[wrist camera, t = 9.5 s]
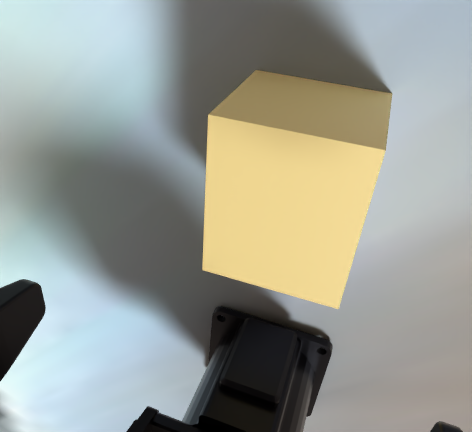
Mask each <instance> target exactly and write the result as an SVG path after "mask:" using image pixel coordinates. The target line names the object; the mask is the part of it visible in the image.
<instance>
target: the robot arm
mask: <svg viewBox="0 0 472 432" xmlns="http://www.w3.org/2000/svg"><path fill="white" fill-rule="evenodd" d="M45 308H46V307H45V302H44V298H43V293H42V289H41V286H40V285H39V284H38V283H36V282H33V281H30V280H26V279H22V280H19V281H16V282H14V283H11V284H9V285H6V286H4V287H2V288H0V381H1V380H2V378H3V377H4V376H5V374H6V373H7V372H8V370H9V369H10V367H11V366H12V364H13V363H14V361H15V360H16V358H17V357H18V355H19V354H20V352H21V351H22V349H23V347H24V346H25V344H26V343H27V341H28V340H29V338H30V337H31V335H32V334H33V332H34V330H35V329H36V327H37V326H38V324H39V323H40V321H41V320H42V318H43V316H44V314H45ZM221 315H222V316H221ZM223 316H224V317H223ZM322 348H324V349H322ZM331 353H332V344H331V343H330V342H329V341H328V340H326V339H323V338H320V337H317V336H314V335H311V334H307V333H304V332H301V331H298V330H295V329H292V328H289V327H285V326H282V325H279V324H276V323H273V322H270V321H267V320H263V319H260V318H257V317H254V316H251V315H248V314H245V313H241V312H238V311H235V310H232V309H229V308H226V307H217V308H216V310H215V311H214V313H213V316H212V328H211V340H210V352H209V364H208V367H207V369H206V371H205V373H204V375H203V377H202V379H201V382H200V384H199V386H198V388H197V390H196V392H195V394H194V397H193V399H192V401H191V403H190V405H189V407H188V409H187V412H186V414H185V416H184V418H183V420H182V421H179V420H177V419H174V418H171V417H169V416H166V415H164V414H161V413H159V411H158V410H157V409H154V408H151V407H149V406H148V407H147V408H146V409H145V410H144V412H143V413H142V414H141V416H140V417H139V418H138V420H135V421H134V422H133V424H132V425H131V426H130V428H129V429H128V430H127V432H303V429H304V424H305V420H306V417H308V416H310V415H311V413H312V410H313V407H314V404H315V401H316V398H317V395H318V392H319V389H320V386H321V383H322V380H323V378H324V375H325V372H326V369H327V366H328V363H329V360H330V357H331ZM430 432H463V431H462V430H461V429H460V428H458V427H456V426H453V425H450V424H447V423H445V422H441V421H439V422H437V423H436V424H435V425H434V427H433V428H432V430H431V431H430Z"/></svg>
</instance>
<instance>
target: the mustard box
mask: <svg viewBox="0 0 472 432" xmlns="http://www.w3.org/2000/svg"><path fill="white" fill-rule="evenodd" d="M391 100H392V93H386V92H380V91H375V90H369V89H363V88H357V87H352V86H346V85H340V84H334V83H329V82H323V81H317V80H311V79H306V78H300V77H294V76H288V75H283V74H277V73H271V72H265V71H260V70H256V71H254V72H253V73H252V74H251V75H250V76H249V77H248V78H247V79H246V80H245V81H244V82H243V83H242V84H241V85H239V86H238V87H237V88H236V89H235V90H234V91H233V92H232V93H231V94H230V95H229V96H228V97H227V98H225V99H224V100H223V101H222V102H221V103H220V104H219V105H218V106H217V107H216V108H215V109H214V110H213V111H212V112H210V113H209V114H208V133H207V160H206V186H205V212H204V239H203V265H202V270H204V271H207V272H211V273H214V274H218V275H221V276H225V277H228V278H232V279H235V280H239V281H242V282H246V283H249V284H253V285H256V286H260V287H263V288H267V289H270V290H274V291H277V292H281V293H284V294H288V295H291V296H294V297H298V298H301V299H305V300H308V301H312V302H315V303H319V304H322V305H326V306H329V307H333V308H336V309H339V305H340V302H341V299H342V295H343V292H344V289H345V285H346V282H347V278H348V275H349V272H350V268H351V265H352V262H353V258H354V255H355V252H356V248H357V245H358V241H359V238H360V235H361V231H362V228H363V225H364V221H365V218H366V215H367V211H368V208H369V205H370V201H371V198H372V194H373V191H374V188H375V184H376V181H377V178H378V174H379V171H380V168H381V164H382V161H383V157H384V154H385V151H386V143H387V134H388V126H389V117H390V108H391Z"/></svg>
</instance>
